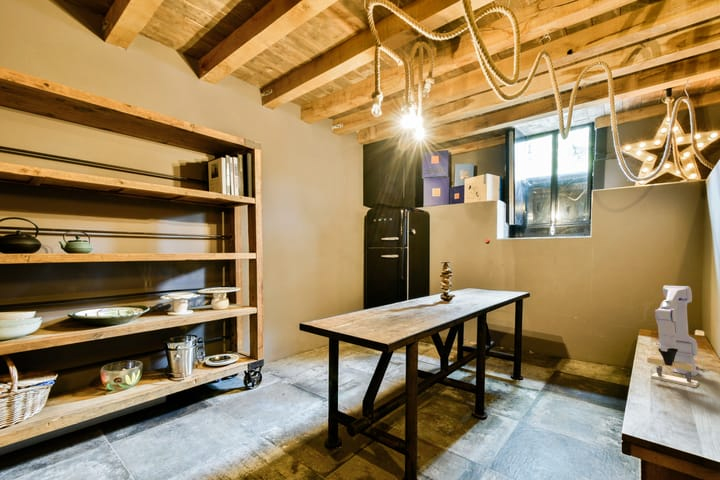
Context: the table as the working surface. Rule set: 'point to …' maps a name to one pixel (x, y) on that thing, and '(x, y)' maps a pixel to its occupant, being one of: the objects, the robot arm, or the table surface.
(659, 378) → the hook stand
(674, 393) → the table surface
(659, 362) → the wooden bar
